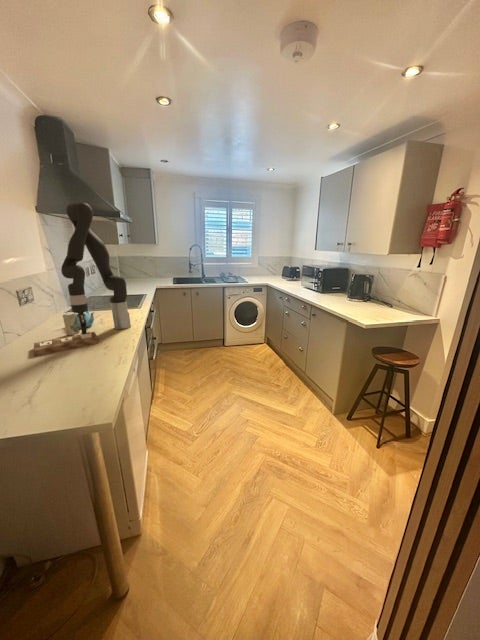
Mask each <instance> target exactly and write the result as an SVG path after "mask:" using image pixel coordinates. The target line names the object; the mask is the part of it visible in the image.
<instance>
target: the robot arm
mask: <svg viewBox="0 0 480 640" xmlns="http://www.w3.org/2000/svg"><path fill="white" fill-rule="evenodd" d="M65 211H66V214H67V218H69V220H70V222H71V223H72V224H73V226H74V228H75V230H74V231H73V234H72V235H71V237H70V238H69V241H68V244H67V252H66V257H65V258H64V261H63V263H62V265H61V271H60V273H61V274H62V277H64V278H66V279H72V283H69V284H68V286H67V291H68V294H69V304H70V308H71V313H78V315H77V318H78V322H79V324H80V327H81V333H82V334H86V333H87V332H88V331H87V328H86V315H85V314H84V312H85V313H86V311H88V308H89V306H88V301H87V297H86V292H85V279H86V271H85V270H84V267H83V266H81V265H79V264H78V263H79V262H82V261H83V259H84V253H85V248H87V251H88V253H89V254H90V257H91V259H92V261H93V262H94V264H95V266H96V268H97V270H98V272H99V274H100V277H101V279H102V281H103V284H104V286H105V288H106V289H107V290H109V291H113V296H110V298H109V301H110V308H111V313H112V319H113V320H112V321H113V326H114V329H115V330H124V329H128V328H131V327H132V325H131V316H130V312H129V310H128V304H127V303H128V302H127V297H128V291H127V290H128V289H127V283H126V280H125V278H124V277H122V276H119V275H118V276H117V275H115V274H114V273H113V271H112V269H111V267H110V253H109V251H108V249H107V247H106V245H105V243H104V242H103V241H102V239H101V238H99V236H97V234H96V233H95V232H94V231H93V230H91V228H90V227H91V224H92V221H93V218H94V210H93V209H92V207H91V205H90V204H88V203H86V202H75V203H69V204H68V205H66V210H65Z"/></svg>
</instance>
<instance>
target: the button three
mask: <svg viewBox="0 0 480 640" xmlns="http://www.w3.org/2000/svg"><path fill="white" fill-rule="evenodd" d="M90 332H91V331H87V333H86V334H82V332H79V335H80V337H81V339H85V338H90V337H92V335H91V333H90Z"/></svg>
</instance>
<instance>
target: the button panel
mask: <svg viewBox="0 0 480 640" xmlns="http://www.w3.org/2000/svg"><path fill="white" fill-rule="evenodd" d="M89 332H90V333H91V335H92V337H90V338H85V339H81V337H80V334H75V335H68V336H64V337H60V338H53V339H49V340H42V341H38V342H33V353H34V357H38V356H43V355H48V354H52V353H57V352H63V351H67V350H71V349H76V347H77V348H81V347H87V346H89V345H95V344H99V343H100V341H99V338H98V335H97V334H96V331H92V332H91V331H89ZM69 337H72V340H73V341H70V342H64V343H61V339H63V338H69ZM47 341H52V344H53V345H49V346H44V347H40V343H41V342H47Z"/></svg>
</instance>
